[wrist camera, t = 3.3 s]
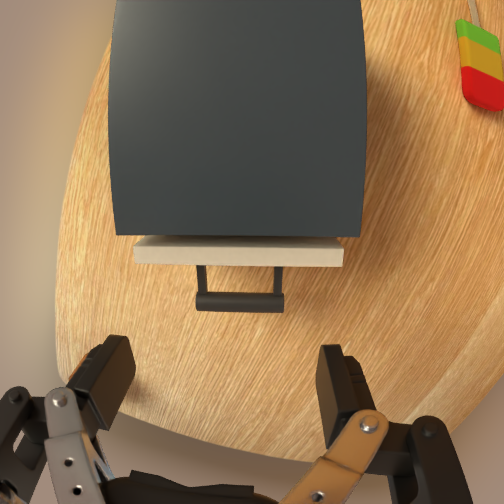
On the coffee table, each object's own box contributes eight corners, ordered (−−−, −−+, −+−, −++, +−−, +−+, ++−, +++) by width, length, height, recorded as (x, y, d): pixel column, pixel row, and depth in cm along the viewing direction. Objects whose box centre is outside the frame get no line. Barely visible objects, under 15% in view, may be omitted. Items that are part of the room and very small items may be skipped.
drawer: (315, 283, 27) (332, 333, 20) (173, 280, 28) (146, 327, 20) (323, 61, 20) (349, 29, 13) (165, 64, 21) (127, 37, 13)
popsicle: (460, 101, 21) (471, 99, 19) (444, -18, 16) (453, -23, 14) (496, 114, 21) (507, 114, 19) (481, 0, 16) (490, -4, 14)
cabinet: (326, 203, 26) (360, 238, 16) (164, 202, 26) (115, 235, 17) (327, 31, 20) (358, -19, 11) (163, 34, 21) (117, -9, 11)
